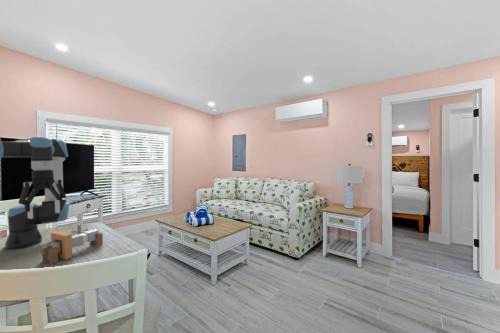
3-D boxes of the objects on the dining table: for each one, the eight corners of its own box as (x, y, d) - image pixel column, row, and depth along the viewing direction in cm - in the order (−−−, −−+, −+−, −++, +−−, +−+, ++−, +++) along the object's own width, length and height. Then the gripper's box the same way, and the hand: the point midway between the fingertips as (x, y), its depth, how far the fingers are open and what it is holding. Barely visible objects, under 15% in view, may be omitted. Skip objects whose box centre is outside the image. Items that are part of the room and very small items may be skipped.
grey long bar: (47, 252, 107) (46, 242, 107) (93, 237, 128) (93, 229, 127) (52, 254, 105) (52, 244, 105) (98, 238, 126) (98, 230, 125)
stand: (42, 261, 106) (41, 247, 106) (95, 242, 130) (94, 231, 129) (50, 264, 104) (50, 250, 103) (102, 244, 127) (102, 232, 127)
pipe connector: (78, 244, 127) (77, 227, 126) (64, 242, 129) (64, 226, 128) (93, 237, 137) (93, 222, 136) (80, 236, 139) (80, 221, 138)
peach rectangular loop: (52, 255, 112) (51, 232, 111) (58, 252, 115) (58, 230, 114) (65, 259, 107) (64, 236, 107) (72, 256, 110) (71, 234, 110)
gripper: (14, 171, 91) (16, 223, 92) (73, 168, 112) (75, 210, 113) (5, 170, 94) (8, 220, 95) (65, 168, 115) (66, 209, 116)
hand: (44, 215), depth 104 cm, fingers open, 10 cm apart
